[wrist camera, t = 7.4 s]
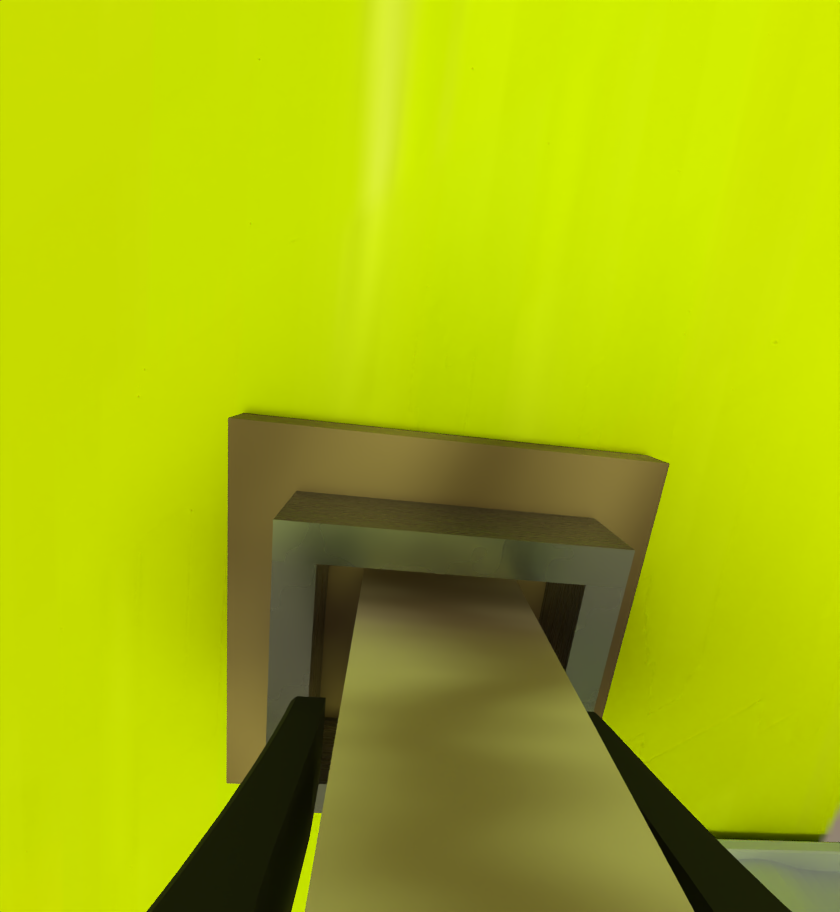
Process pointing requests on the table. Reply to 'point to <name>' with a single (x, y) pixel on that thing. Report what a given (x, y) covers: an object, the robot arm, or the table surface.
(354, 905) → the tan rectangular block
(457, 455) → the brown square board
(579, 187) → the table surface
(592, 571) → the gray square frame
